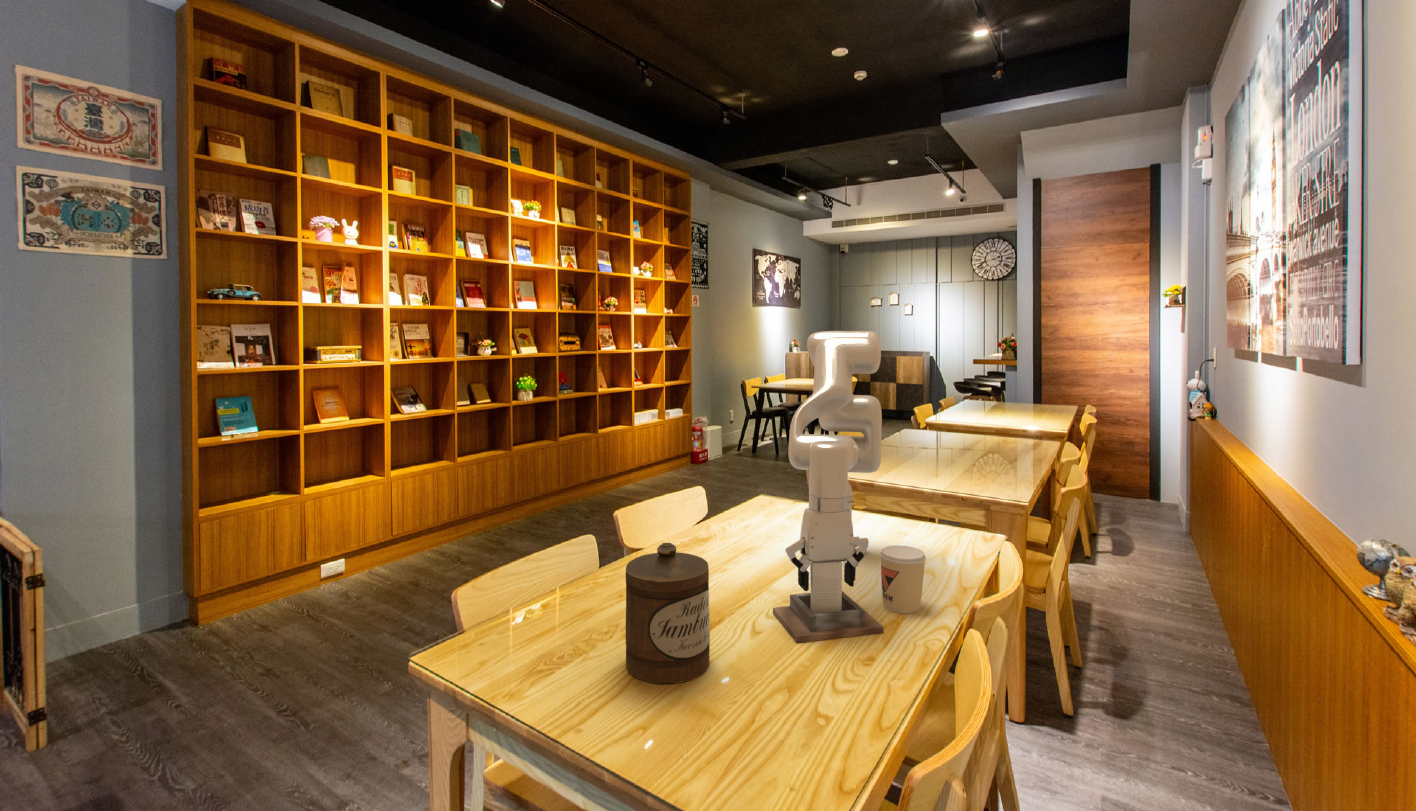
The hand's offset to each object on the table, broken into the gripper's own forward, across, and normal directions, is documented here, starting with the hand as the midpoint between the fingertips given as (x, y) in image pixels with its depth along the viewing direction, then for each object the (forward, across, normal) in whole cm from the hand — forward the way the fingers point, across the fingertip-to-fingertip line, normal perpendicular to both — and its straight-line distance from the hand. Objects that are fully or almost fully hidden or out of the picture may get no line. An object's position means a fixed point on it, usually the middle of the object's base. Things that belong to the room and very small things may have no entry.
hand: (826, 586), depth 136 cm
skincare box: (+7, 0, 0) cm, 7 cm away
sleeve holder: (+8, 0, 0) cm, 8 cm away
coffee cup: (+8, -19, -4) cm, 21 cm away
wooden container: (+8, +34, +9) cm, 36 cm away
